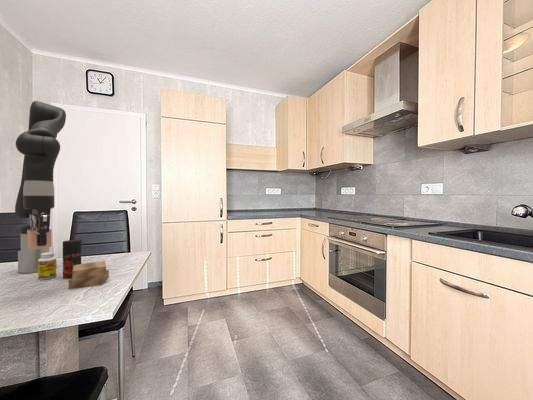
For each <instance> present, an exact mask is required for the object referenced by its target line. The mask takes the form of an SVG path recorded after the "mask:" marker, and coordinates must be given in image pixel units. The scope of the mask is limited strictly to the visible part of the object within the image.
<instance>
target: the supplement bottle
mask: <svg viewBox="0 0 533 400" xmlns="http://www.w3.org/2000/svg"><path fill="white" fill-rule="evenodd" d="M56 276H57V257H56V256H55V253H54V252H52V251H51V252H50V251H49V253H42V254H41V258H40V259H39V260H38V272H37V280H39V281H46V280H52V279H54V278H56Z"/></svg>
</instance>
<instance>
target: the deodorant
mask: <svg viewBox="0 0 533 400" xmlns="http://www.w3.org/2000/svg"><path fill="white" fill-rule="evenodd" d="M78 264H82V240H81V239H70V240H64V241H62V279H64V280H70V279H71V278H72V277H73V274H72V271H73V266H74V265H78Z"/></svg>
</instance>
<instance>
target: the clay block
mask: <svg viewBox="0 0 533 400" xmlns="http://www.w3.org/2000/svg"><path fill="white" fill-rule="evenodd" d="M52 231H53V230H52V229H50V228H49V232H48V233H47V244H46V245H45V246H37V234H36V232H37V231H36V229H34V230H27V248H29V249H31V250H32V249H40V248H48V247H49V248H52V247H53V246H52V245H53V243H52V239H53V237H52Z"/></svg>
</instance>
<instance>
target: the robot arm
mask: <svg viewBox="0 0 533 400" xmlns="http://www.w3.org/2000/svg"><path fill="white" fill-rule="evenodd" d="M29 107H30V108H29V115H28V116H29V117H28V130H26V131H23V132H22V133H21V134H19V135H18V137H17V138H16V141H15V147H16V150H17V152H19V153H20V154H22V155H23V163H22V173H21V180H20V184H19V189H18V193H17V197H16V201H15V205H14V213H15V216H16V217H17V218H18V219H29V224H27V225H24V226H22V227H21V228H20V250H18V251H17V273H22V274H31V273H38V260H39V259H40V258H41V254H42V253H49V252H50V247H48V248H40V249H32V250H31V249H29V248H27V230H34V229H36V231H37V232H36V234H37V246H45V245H46V244H47V233H48V232H49V229H50V227H51V211H52V209H54V208H55V185H54V168H55V164H56V161H57V159H58V156H59V154H60V150H61V144H60V142H59V140H57V136H58V134H59V133H60V132H61V131H62V129H63V128H64V127H65V124H66V120H67V113H66V111H65V110H64V109H63V108H61V107H59V106H56V105H53V104H49V103H46V102H43V101H39V100H34V101H32V102H31V104H30V106H29Z"/></svg>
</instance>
